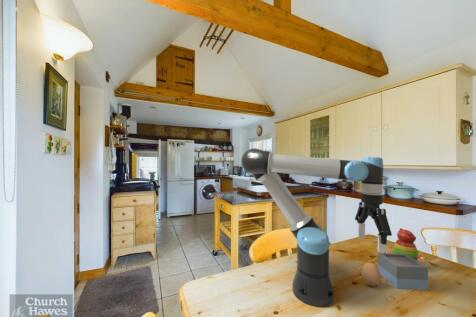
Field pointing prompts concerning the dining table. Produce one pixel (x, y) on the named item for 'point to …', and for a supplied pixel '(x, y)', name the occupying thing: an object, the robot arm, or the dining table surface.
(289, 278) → the dining table surface
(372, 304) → the dining table surface
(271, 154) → the robot arm
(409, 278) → the grey square tray
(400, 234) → the stacking bear
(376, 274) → the egg
